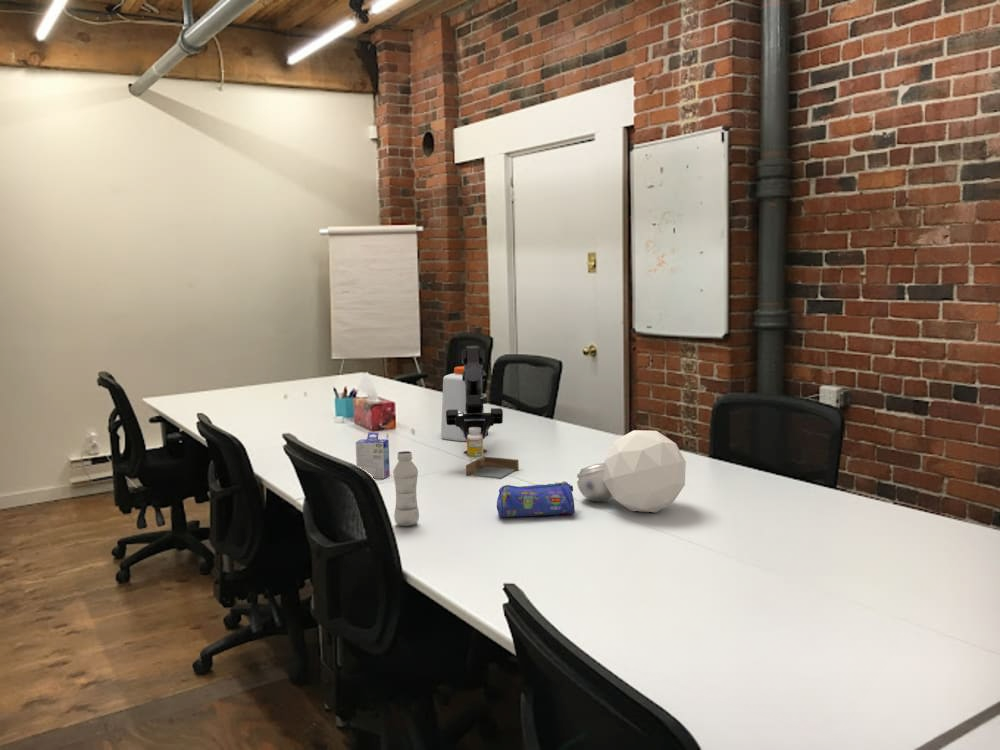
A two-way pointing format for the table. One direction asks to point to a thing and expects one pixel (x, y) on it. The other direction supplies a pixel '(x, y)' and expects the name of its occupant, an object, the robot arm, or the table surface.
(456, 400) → the plastic bottle
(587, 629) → the table surface
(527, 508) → the pencil case
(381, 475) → the ink cartridge box
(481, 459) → the corner walls
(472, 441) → the supplement bottle
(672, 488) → the lamp
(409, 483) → the plastic bottle
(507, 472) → the mat
